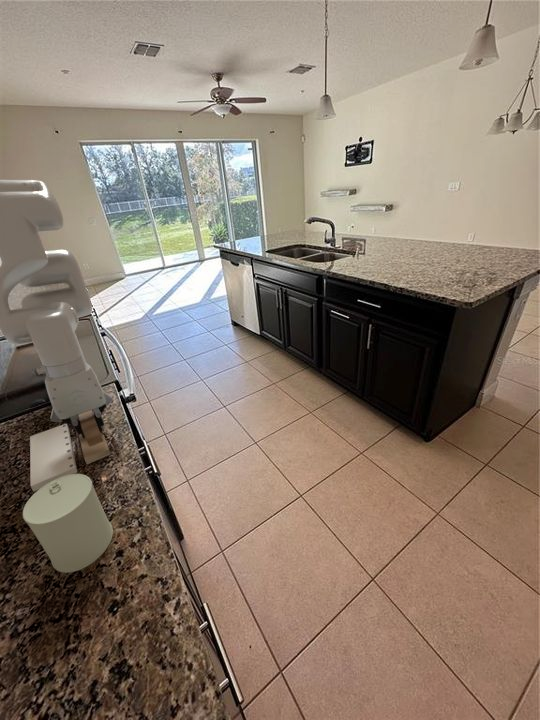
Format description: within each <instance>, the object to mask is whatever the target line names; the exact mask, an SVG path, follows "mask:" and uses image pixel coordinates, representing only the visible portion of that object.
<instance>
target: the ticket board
mask: <svg viewBox="0 0 540 720" xmlns="http://www.w3.org/2000/svg"><path fill="white" fill-rule="evenodd" d="M29 440H30V441H29V447H30V448H29V449H30V450H29V451H30V453H29V454H30V455H29V457H30V458H29V460H30V462H29V463H30V468H29V469H30V470H29V471H30V474H29V475H30V476H29V477H30V488H31V490H32V491H33V492H34V493H35V492H37V491H38V490H39V489H40V488H42V487H43V486H45V485H46V484H48V483H50V482H51V481H53V480H55V479H58V478H60V477H63V476H66V475H71V474H78V468H77V464H76V463H77V462H76V459H75V454H74V453H75V452H74V448H73V443H72V438H71V434H70V428H69V426H68V423H63V424H62V425H58V426H56V427H52V428H50V429H48V430H45V431H42V432H38V433H36V434H32V435H30V436H29Z"/></svg>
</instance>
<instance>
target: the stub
mask: <svg viewBox="0 0 540 720" xmlns="http://www.w3.org/2000/svg"><path fill="white" fill-rule="evenodd" d="M93 414H94V411H93V410H90V411H88V412H85V413H82V414H79V415H77V416H78V419H79V420H80V423H81V427H82V431H83V433H84V435H85V438H83V437H82V434H80V435H78V438H79V442H80V445H81V451H82V455H83V458H84V461H85V463H86V465H89V464H92V463H93V462H96V461H98V460H101V459H104V458H105V457H108V456H110V455H111V451H110V449H109V445H108V443H107V440H106V438H105V435H104V432H103V431H99V428H98V426H97V423H96V421H95V418H94V415H93Z"/></svg>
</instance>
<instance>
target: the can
mask: <svg viewBox="0 0 540 720" xmlns="http://www.w3.org/2000/svg"><path fill="white" fill-rule="evenodd" d="M22 518H23V520H24V521H25V523H26V524H27V525H28V527H29V528H30V529H31V531H32V533H33V534H34V536H35V537H36V539H37V540H38V542H39V543H40V545H41V546H42V548H43V549H44V552H45V553H46V554H47V556H48V558H49V559H50V560H49V561H51V565H52V567H53V568H54V570H56V571H57V572H59V573H65V574H67V573H74V572H77V571H81V570H82V569H85V568H86V567H88V566H90V565H91V564H93V563H94V562H96V561H97V560H98V559H99V558H100V557H101V556H103V554H104V553H105V551H106V550H107V549H108V547H109V546H110V544H111V541H112V538H113V535H114V530H113V525H112V524H111V522H110V521H109V519H108V517H107V515H106V513H105V511H104V508H103V506H102V504H101V502H100V499H99V497H98V494H97V492H96V490H95V487H94V485H93V482H92V479H91V478H90V477H89V476H87V475H85V474H81V473H75V474H71V475H66V476H63V477H60V478H58V479H55V480H53V481H51V482H50V483H48V484H46V485H45V486H43V487H42V488H40V489H38V490H36V491H35V492H34V493H33V494H32V495H31V497H30V498H29V499H28V500H27V501H26V503H25V505H24V507H23V510H22Z"/></svg>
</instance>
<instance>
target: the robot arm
mask: <svg viewBox="0 0 540 720" xmlns="http://www.w3.org/2000/svg"><path fill="white" fill-rule="evenodd" d="M59 205H60V204H59V202H58V201H57V199H56V197H55V195H54V194H53V193H52V191H51V188H50V187H49V186H48V185H47V184H46V183H45V182H44V181H41V180H36V179H0V261H1V264H0V331H1V333H2V335H3V337H4V338H5V339H6V340H7V341H8V342H10V343H12V344H15V345H24V344H29V343H33V347H34V348H35V350H36V353H37V355H38V357H39V359H40V361H41V364H42V365H41V366H40V367H39V368H36V370H35V371H36V373H37V375H39V376H40V375H45V377H44V384H45V389H46V391H47V395H48V398H49V401H50V403H51V406H52V410H51V414H50V422H53V423H61V422H62V423H63V424H66V423H67V425H68V424H69V425H72V427H74V428H75V430H76V433H77V435H78V436H79V435H80V434H82V437H83V438H85V435H84V433H83V431H82V427H81V423H80V420H79V417H77V416H78V415H79V414H82V413H85V412H88V411H90V410H92V412H93V415H94V418H95V421H96V423H97V426H98V428H99V431H102V432H103V431H104V430H103V426H105V423H104V420H103V418H102V414H103V413H104V411H105V410H106V408H107V406H109V405H110V404H111V403H112V402H113V401H114V398H113V397H112V396H111V395H110V394H109V393H107V392H106V391H105V390H103V388H102V386H101V383H100V381H99V378H98V376H97V374H96V373H95V371H94V369H93V368H92V366H91V365H90V364H89V363H88V362H86V358H85V356H84V352H83V349H82V347H81V345H80V343H79V339H78V337H77V334H76V332H75V331H76V330H77V328H78V325H79V321H80V320H79V318H82V317H86V316H89V315H90V314H91V313H92V312H93V304H92V300H91V298H90V294H89V291H88V288H87V286H86V282H85V280H84V277H83V274H82V271H81V269H80V266H79V263H78V260H77V259H76V257H75V256H74V254H73V253H72V252H70V251H69V250H67V249H51V250H50V249H49V250H45V247H44V245H43V243H42V240H41V237H40V235H39V232H52V231H59V230H61V229H62V228H63V227H64V218H63V214H62V210H61V207H60V206H59ZM19 284H20V285H21V286H23V287H25V288H42V287H50V286H55V285H61V284H65V285H67V286H68V287H67V286H66V287H62V288H61V287H60V288H55V289H53V288H52V289H47V290H40V291H35V292H31V293H29V294H27V295H25V296H23V297H22V299H21V303H20V304H21V308H15V309H11V308H10V305H9V296H10V294H11V292H12V291H13V289H15V287H16V286H17V285H19Z"/></svg>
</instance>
